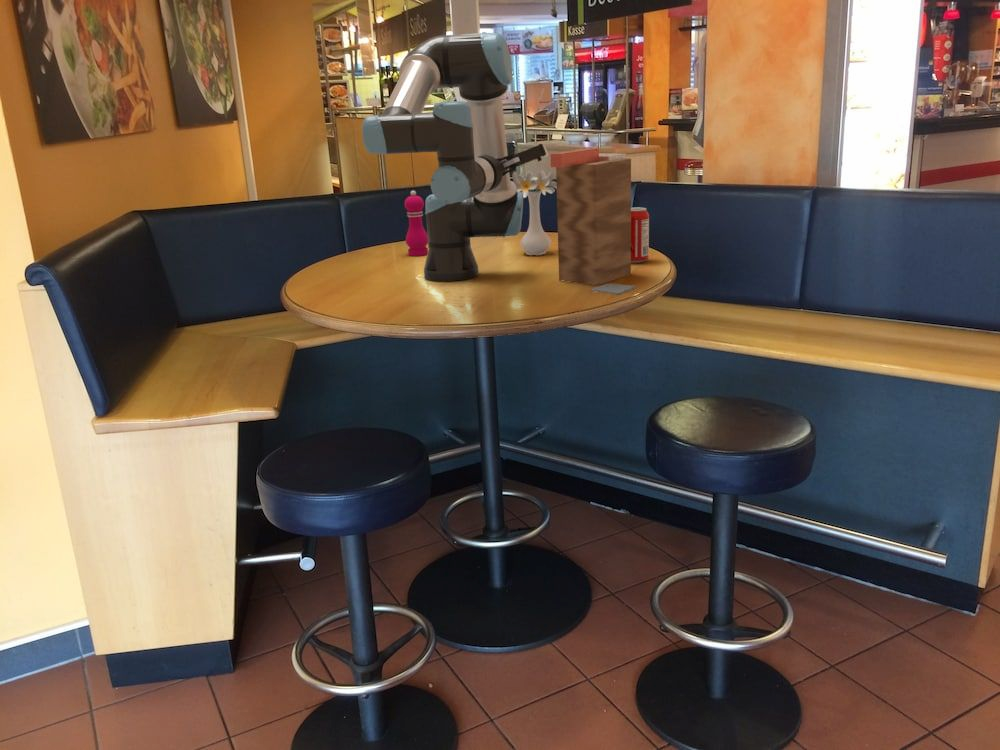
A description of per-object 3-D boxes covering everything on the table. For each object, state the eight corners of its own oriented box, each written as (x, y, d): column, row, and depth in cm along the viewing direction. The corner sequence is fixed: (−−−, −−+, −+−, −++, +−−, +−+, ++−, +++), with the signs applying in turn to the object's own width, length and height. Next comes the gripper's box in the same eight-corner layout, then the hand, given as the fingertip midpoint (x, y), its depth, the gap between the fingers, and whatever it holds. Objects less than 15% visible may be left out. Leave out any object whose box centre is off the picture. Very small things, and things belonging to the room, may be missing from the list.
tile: (590, 293, 206) (590, 289, 206) (608, 286, 212) (608, 282, 212) (618, 297, 201) (618, 292, 201) (635, 290, 207) (635, 286, 207)
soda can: (648, 264, 233) (648, 210, 228) (619, 264, 234) (619, 211, 230) (648, 258, 240) (649, 206, 235) (621, 259, 242) (621, 207, 237)
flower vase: (570, 255, 250) (568, 170, 242) (509, 259, 249) (505, 174, 241) (565, 247, 262) (563, 166, 254) (507, 251, 262) (503, 170, 254)
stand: (559, 280, 219) (556, 163, 209) (593, 269, 230) (592, 157, 220) (596, 285, 211) (595, 164, 201) (630, 273, 222) (631, 158, 213)
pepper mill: (428, 255, 261) (423, 191, 254) (405, 256, 261) (399, 192, 255) (430, 251, 268) (425, 188, 261) (408, 252, 268) (403, 189, 262)
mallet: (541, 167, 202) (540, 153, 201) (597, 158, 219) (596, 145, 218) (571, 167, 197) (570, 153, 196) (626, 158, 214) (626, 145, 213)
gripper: (440, 211, 184) (483, 194, 202) (535, 170, 171) (572, 156, 189) (427, 178, 183) (472, 165, 201) (521, 135, 170) (560, 124, 187)
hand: (520, 161), depth 195 cm, fingers open, 13 cm apart
